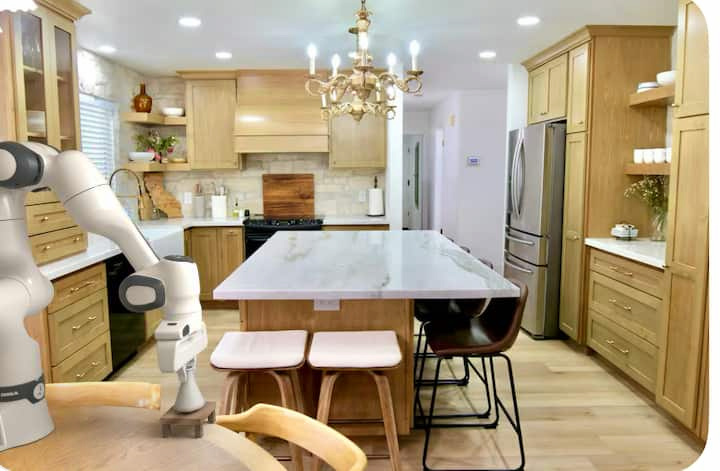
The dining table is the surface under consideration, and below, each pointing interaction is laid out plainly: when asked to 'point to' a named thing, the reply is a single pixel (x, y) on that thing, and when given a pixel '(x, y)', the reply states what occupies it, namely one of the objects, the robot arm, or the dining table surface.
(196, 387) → the flask
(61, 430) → the dining table surface
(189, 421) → the walnut stand
